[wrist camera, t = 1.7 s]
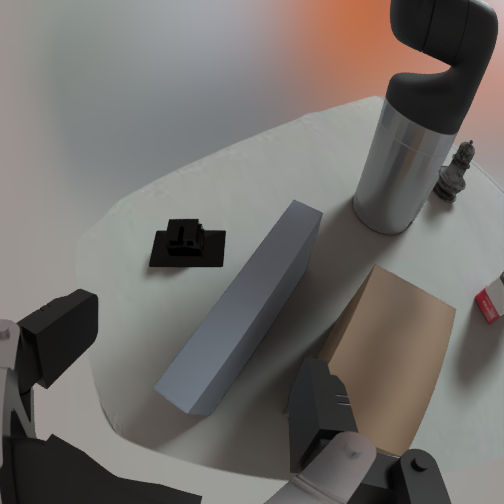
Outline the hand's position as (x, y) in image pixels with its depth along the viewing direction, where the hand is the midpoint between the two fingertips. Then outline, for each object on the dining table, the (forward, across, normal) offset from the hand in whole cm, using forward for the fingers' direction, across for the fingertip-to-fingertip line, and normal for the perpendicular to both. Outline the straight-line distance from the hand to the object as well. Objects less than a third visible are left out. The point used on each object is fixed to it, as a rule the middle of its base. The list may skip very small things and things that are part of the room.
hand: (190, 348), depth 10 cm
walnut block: (+15, -14, +11) cm, 23 cm away
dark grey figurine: (+37, -31, -14) cm, 51 cm away
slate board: (+19, -3, +9) cm, 21 cm away
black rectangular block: (+26, +7, +4) cm, 27 cm away
